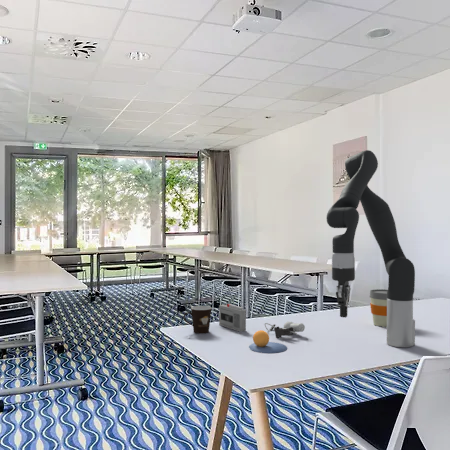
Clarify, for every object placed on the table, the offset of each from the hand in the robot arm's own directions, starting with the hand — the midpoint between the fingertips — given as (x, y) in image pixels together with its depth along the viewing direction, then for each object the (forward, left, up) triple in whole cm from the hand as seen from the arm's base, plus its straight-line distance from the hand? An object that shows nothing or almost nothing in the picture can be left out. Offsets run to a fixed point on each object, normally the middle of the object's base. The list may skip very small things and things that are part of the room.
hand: (343, 316), depth 155 cm
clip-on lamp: (+6, -36, -15) cm, 39 cm away
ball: (+21, -22, -11) cm, 32 cm away
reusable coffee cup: (-45, -38, -14) cm, 60 cm away
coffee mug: (+38, -51, -14) cm, 65 cm away
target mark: (+19, -20, -14) cm, 31 cm away
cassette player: (+22, -53, -15) cm, 59 cm away
